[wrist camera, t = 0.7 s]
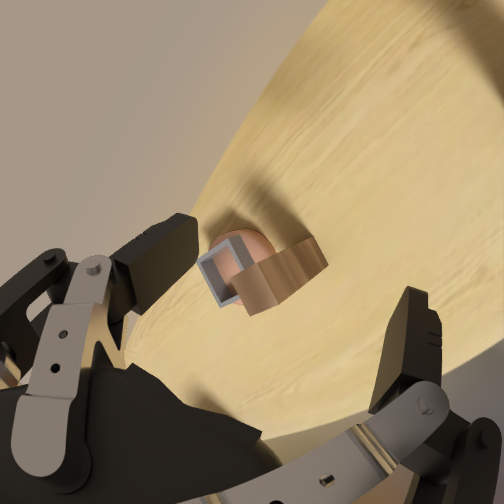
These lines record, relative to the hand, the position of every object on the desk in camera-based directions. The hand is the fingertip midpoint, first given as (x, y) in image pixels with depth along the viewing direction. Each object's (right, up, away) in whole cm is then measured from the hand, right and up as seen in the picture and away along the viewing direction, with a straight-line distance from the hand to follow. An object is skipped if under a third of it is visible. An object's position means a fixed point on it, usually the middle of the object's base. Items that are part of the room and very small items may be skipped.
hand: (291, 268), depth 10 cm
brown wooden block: (+6, 0, +26) cm, 27 cm away
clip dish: (-2, -1, +32) cm, 32 cm away
